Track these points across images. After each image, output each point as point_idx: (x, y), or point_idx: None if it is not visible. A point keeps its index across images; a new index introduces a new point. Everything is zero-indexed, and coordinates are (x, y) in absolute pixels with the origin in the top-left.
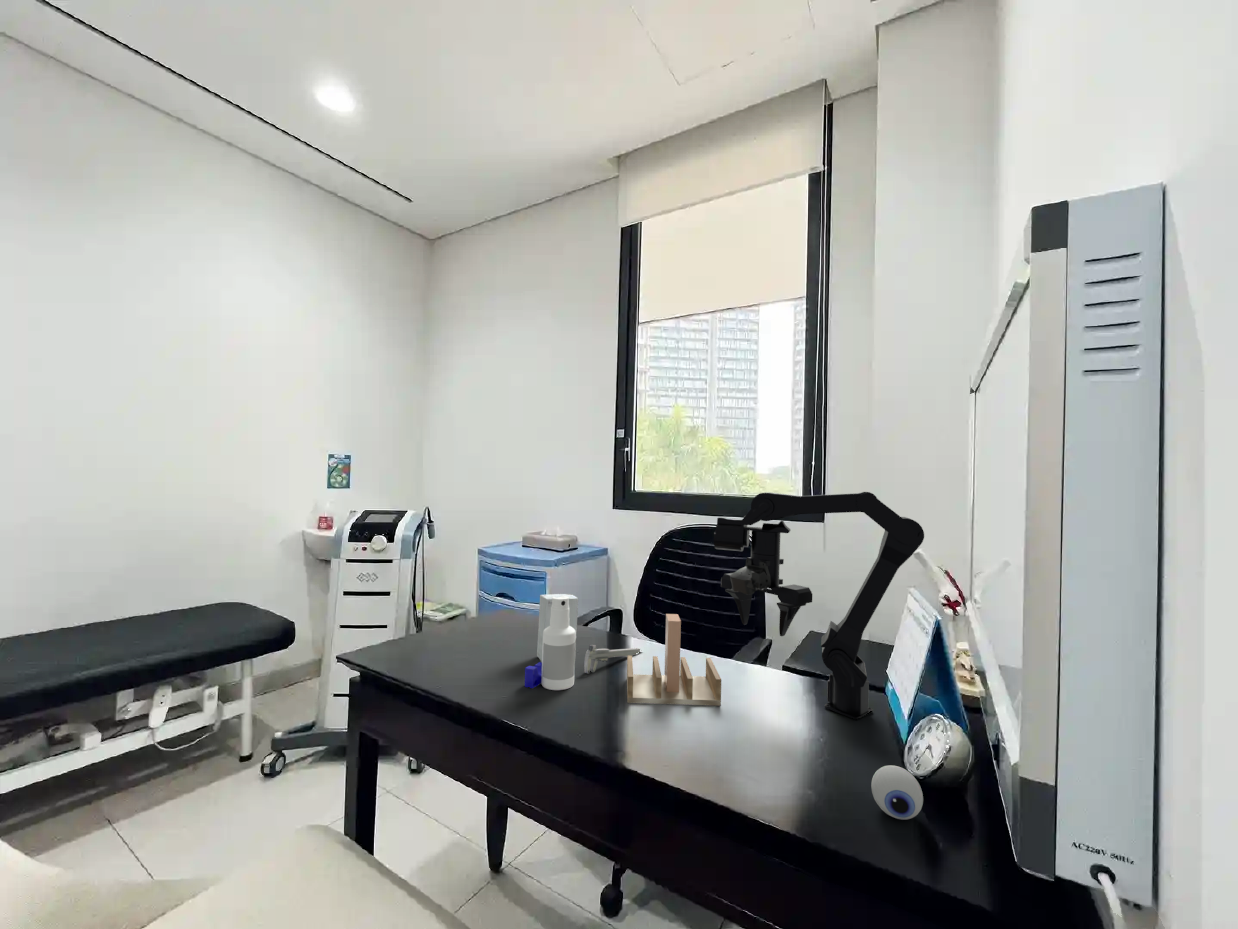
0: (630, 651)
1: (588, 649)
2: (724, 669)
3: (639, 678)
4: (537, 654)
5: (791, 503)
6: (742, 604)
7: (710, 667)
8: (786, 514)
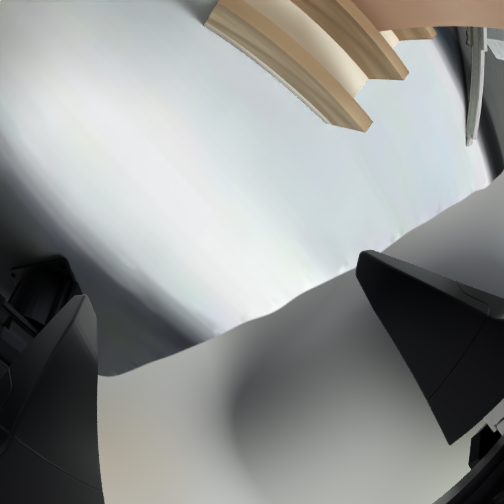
0: (474, 110)
1: None
2: (346, 214)
3: None
4: None
5: None
6: (455, 319)
7: (317, 61)
8: None
